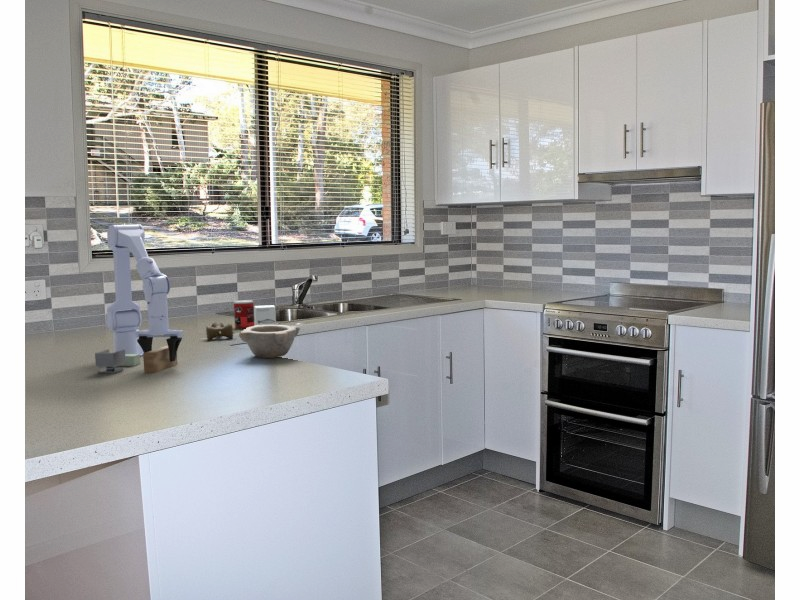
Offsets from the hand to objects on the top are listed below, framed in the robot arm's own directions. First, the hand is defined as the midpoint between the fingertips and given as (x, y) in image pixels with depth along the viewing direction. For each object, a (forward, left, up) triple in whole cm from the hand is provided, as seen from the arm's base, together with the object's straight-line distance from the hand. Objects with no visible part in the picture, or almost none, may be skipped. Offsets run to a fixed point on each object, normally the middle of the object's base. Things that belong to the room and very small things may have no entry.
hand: (161, 361), depth 214 cm
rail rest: (-5, -13, -2) cm, 14 cm away
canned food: (-82, -7, -2) cm, 82 cm away
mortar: (-21, +27, -2) cm, 34 cm away
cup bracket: (+5, -13, -2) cm, 14 cm away
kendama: (-56, -7, -3) cm, 57 cm away
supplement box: (-51, +14, -2) cm, 53 cm away
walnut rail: (0, 0, -2) cm, 2 cm away
